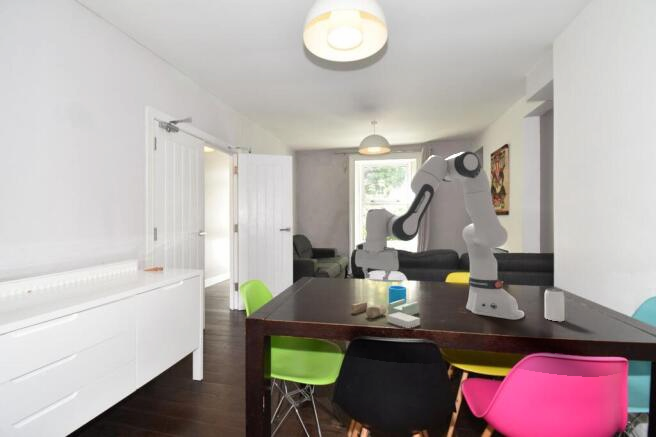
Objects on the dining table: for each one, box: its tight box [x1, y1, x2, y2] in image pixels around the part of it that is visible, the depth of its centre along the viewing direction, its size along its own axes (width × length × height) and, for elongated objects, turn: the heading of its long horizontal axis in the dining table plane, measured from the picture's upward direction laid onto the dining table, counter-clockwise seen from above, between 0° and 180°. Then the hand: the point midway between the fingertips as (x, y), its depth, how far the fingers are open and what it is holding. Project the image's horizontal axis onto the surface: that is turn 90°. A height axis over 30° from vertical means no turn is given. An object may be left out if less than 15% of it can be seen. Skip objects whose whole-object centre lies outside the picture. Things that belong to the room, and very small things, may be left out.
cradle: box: [387, 299, 420, 316], centre depth 133 cm, size 8×11×4 cm
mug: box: [388, 285, 407, 304], centre depth 149 cm, size 12×8×8 cm
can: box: [544, 288, 565, 323], centre depth 125 cm, size 6×6×12 cm
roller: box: [365, 303, 387, 319], centre depth 129 cm, size 4×8×4 cm, turn 134°
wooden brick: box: [351, 300, 368, 315], centre depth 135 cm, size 2×8×4 cm, turn 134°
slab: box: [386, 312, 421, 329], centre depth 120 cm, size 10×7×3 cm
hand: (376, 279), depth 129 cm, fingers open, 8 cm apart
